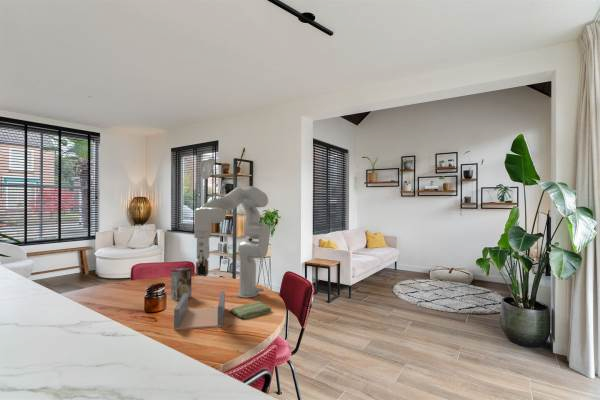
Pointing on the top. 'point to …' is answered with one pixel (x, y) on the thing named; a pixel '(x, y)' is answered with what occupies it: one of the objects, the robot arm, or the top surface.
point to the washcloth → (250, 310)
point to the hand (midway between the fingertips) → (202, 272)
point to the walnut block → (205, 268)
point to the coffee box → (180, 283)
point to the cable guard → (198, 315)
